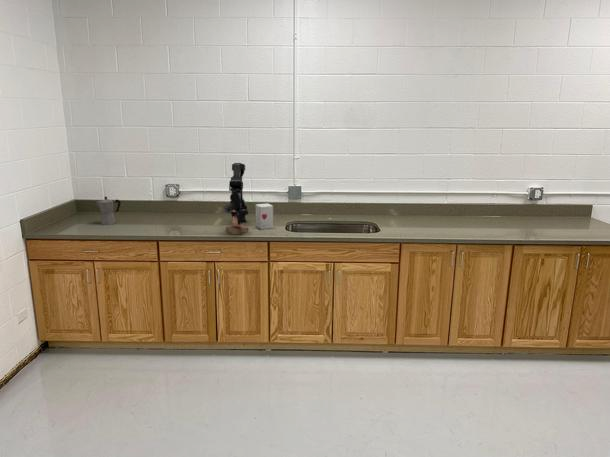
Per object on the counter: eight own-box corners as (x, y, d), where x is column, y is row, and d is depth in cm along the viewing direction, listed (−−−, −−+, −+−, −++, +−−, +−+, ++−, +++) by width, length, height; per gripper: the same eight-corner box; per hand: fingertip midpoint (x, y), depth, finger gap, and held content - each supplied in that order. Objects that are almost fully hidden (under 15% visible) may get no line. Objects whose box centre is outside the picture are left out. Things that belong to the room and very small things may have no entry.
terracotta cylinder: (238, 224, 292) (238, 215, 290) (242, 225, 288) (242, 216, 286) (231, 225, 289) (231, 216, 287) (235, 227, 285) (235, 217, 284)
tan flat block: (240, 228, 296) (240, 224, 295) (248, 232, 288) (248, 227, 288) (226, 231, 290) (226, 226, 290) (233, 234, 283) (233, 229, 282)
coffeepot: (97, 225, 300) (94, 198, 296) (97, 222, 309) (94, 196, 304) (122, 223, 306) (120, 197, 301) (122, 220, 314) (119, 194, 310)
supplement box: (260, 229, 295) (260, 206, 291) (255, 226, 303) (255, 204, 299) (273, 228, 299) (273, 205, 295) (268, 225, 307) (267, 203, 303)
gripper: (217, 198, 287) (218, 222, 291) (231, 203, 272) (232, 228, 276) (233, 196, 293) (234, 220, 297) (248, 201, 279) (248, 226, 283)
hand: (237, 223), depth 288 cm, fingers closed on terracotta cylinder, 5 cm apart
